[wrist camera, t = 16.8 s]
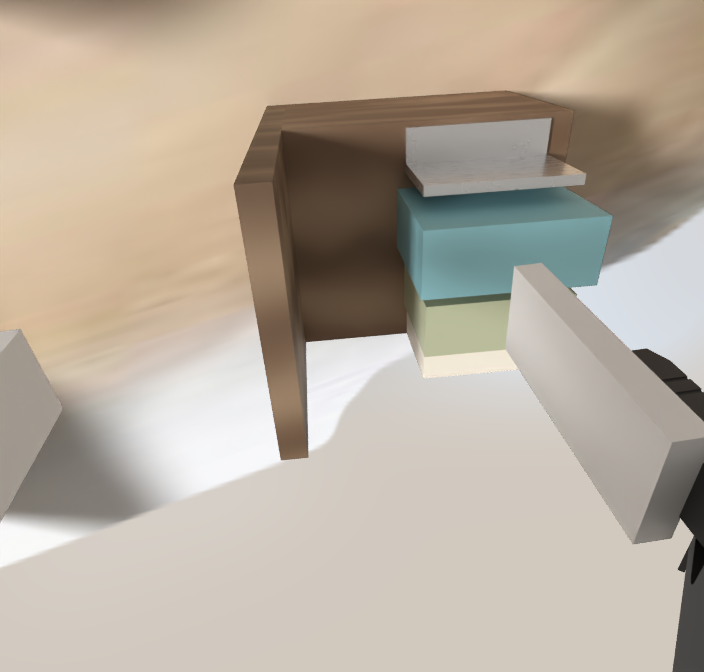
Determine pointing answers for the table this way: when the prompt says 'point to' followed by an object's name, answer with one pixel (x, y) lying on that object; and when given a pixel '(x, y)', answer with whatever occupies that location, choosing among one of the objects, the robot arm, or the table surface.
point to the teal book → (498, 239)
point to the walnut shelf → (340, 224)
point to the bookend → (484, 158)
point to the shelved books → (458, 332)
